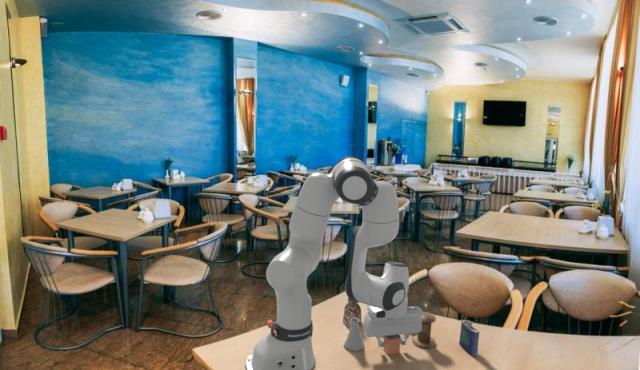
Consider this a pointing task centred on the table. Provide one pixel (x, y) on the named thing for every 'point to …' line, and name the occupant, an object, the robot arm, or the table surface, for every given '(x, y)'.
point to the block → (392, 344)
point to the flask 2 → (469, 338)
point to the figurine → (351, 312)
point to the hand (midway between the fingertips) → (391, 345)
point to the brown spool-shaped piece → (425, 332)
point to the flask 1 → (354, 337)
